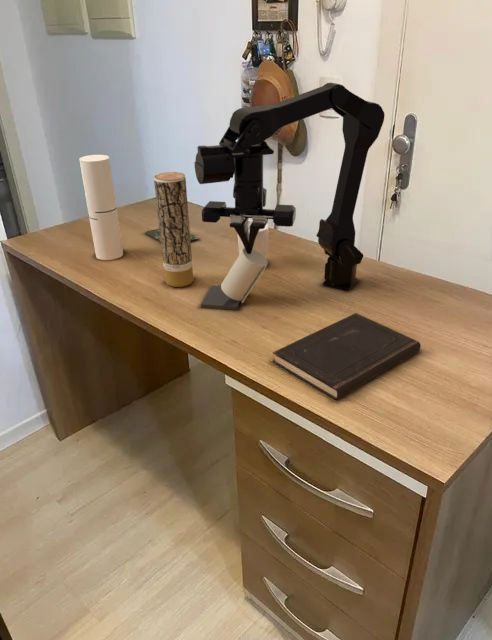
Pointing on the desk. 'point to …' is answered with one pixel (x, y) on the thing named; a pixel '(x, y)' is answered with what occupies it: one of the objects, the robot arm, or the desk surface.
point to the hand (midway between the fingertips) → (249, 253)
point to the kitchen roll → (244, 275)
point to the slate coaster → (219, 300)
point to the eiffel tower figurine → (157, 234)
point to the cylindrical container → (101, 206)
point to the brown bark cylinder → (174, 228)
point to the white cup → (258, 241)
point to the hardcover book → (345, 354)
